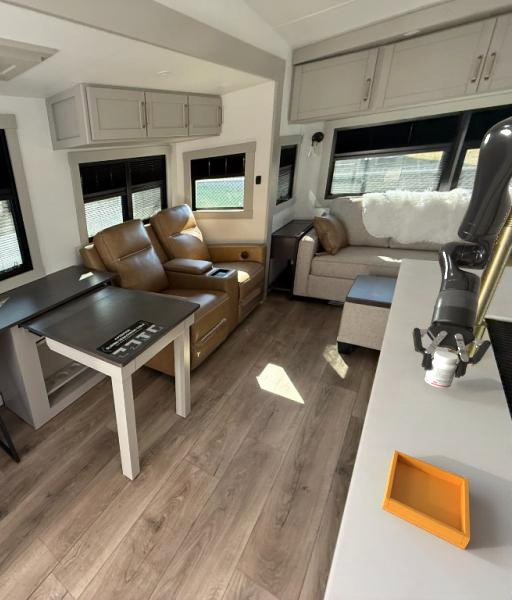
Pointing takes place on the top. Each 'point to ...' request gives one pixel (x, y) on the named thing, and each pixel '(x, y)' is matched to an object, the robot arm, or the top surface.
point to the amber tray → (429, 498)
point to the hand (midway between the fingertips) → (441, 372)
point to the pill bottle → (442, 369)
